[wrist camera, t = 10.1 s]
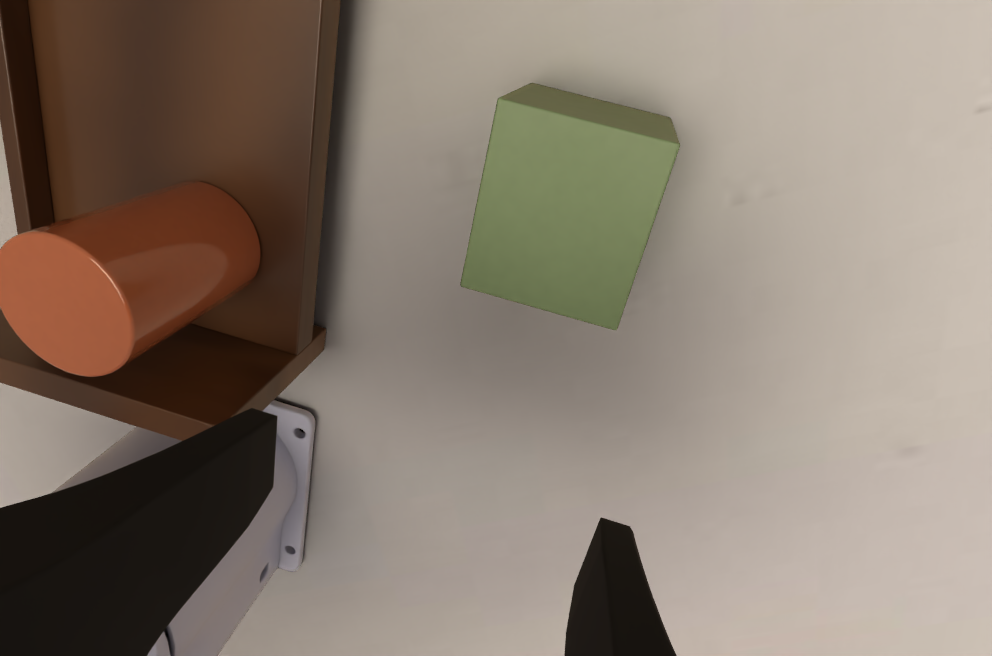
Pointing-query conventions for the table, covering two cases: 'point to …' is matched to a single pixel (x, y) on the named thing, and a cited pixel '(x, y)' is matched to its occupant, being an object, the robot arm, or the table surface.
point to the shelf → (177, 176)
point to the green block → (567, 202)
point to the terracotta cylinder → (125, 275)
